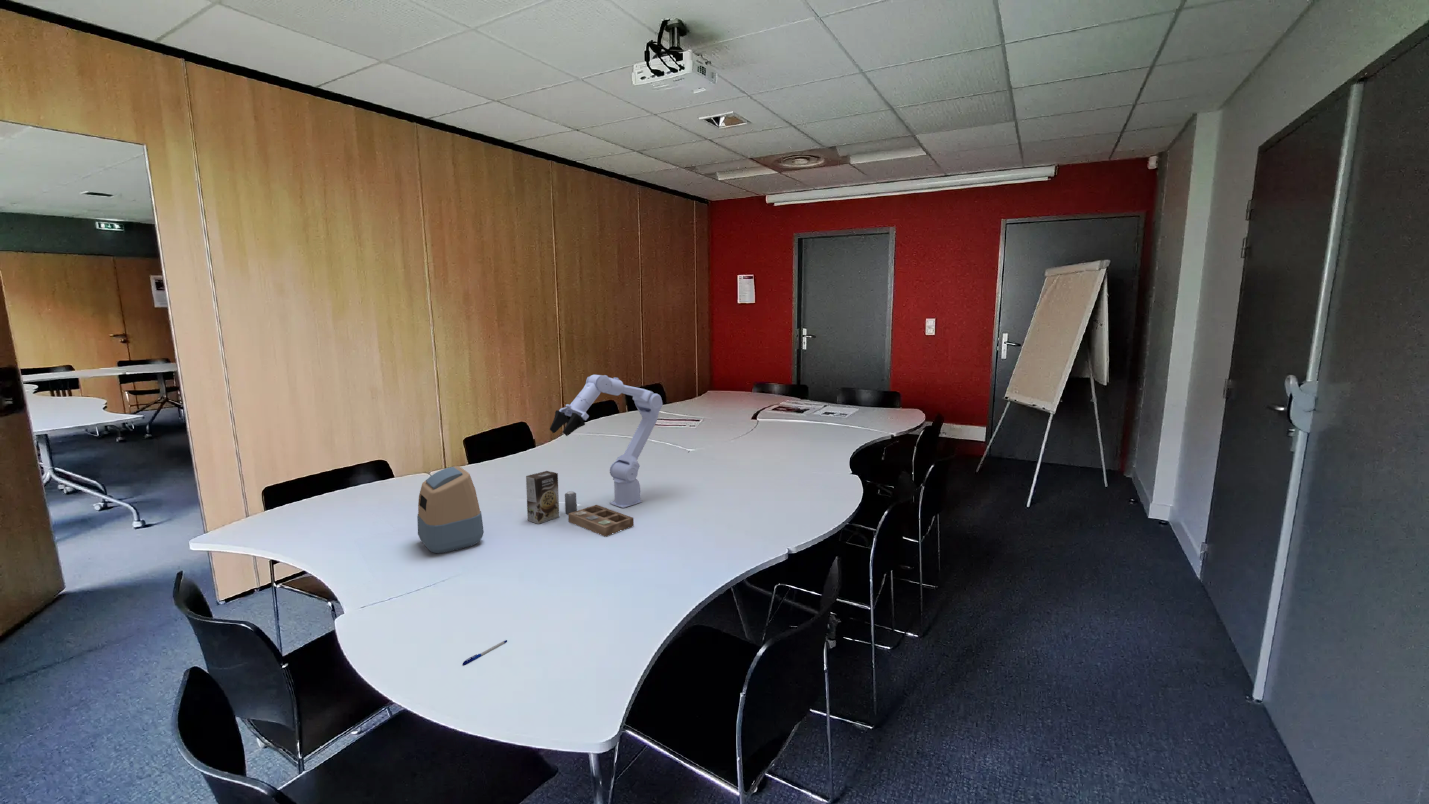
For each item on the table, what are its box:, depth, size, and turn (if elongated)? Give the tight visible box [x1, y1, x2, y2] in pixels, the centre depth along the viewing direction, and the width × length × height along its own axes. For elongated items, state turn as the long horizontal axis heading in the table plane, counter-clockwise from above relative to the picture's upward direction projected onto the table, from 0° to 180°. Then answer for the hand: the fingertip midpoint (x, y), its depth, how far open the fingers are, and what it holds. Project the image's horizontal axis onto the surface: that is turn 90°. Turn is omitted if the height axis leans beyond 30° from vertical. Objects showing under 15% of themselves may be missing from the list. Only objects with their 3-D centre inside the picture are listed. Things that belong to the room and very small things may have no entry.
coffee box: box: [525, 470, 560, 525], centre depth 199 cm, size 9×6×16 cm
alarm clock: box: [416, 465, 485, 554], centre depth 177 cm, size 17×17×23 cm
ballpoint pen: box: [462, 639, 508, 666], centre depth 122 cm, size 10×1×1 cm, turn 147°
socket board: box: [567, 504, 635, 537], centre depth 195 cm, size 12×20×3 cm, turn 49°
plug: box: [564, 490, 578, 515], centre depth 206 cm, size 4×4×8 cm
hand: (558, 432), depth 190 cm, fingers open, 7 cm apart
